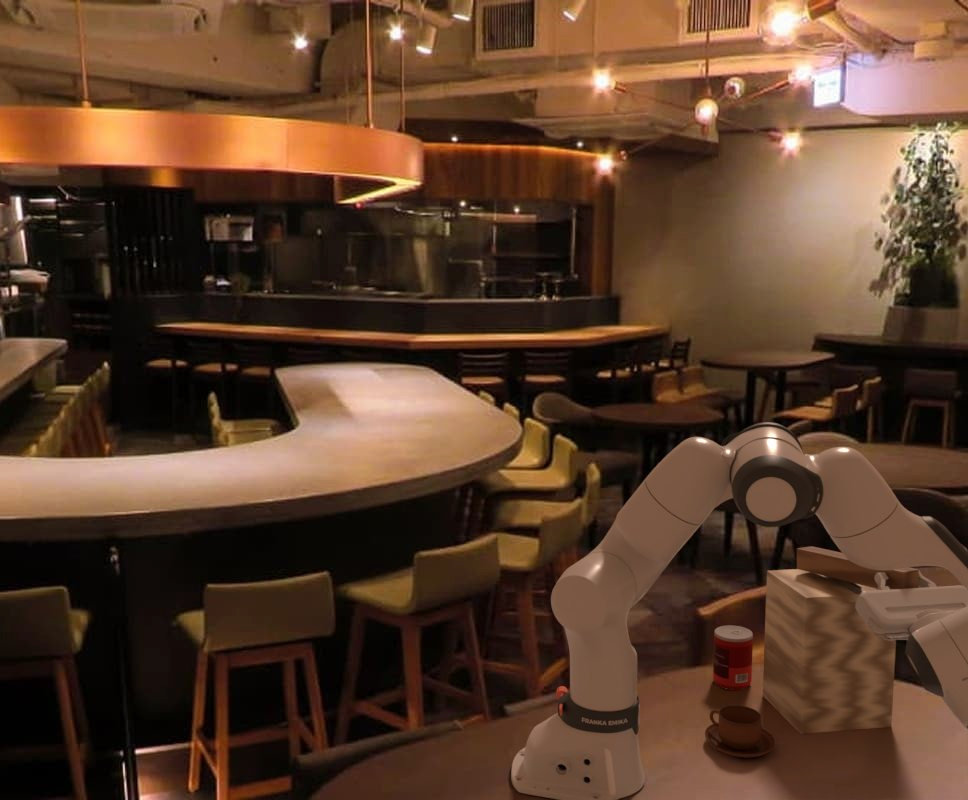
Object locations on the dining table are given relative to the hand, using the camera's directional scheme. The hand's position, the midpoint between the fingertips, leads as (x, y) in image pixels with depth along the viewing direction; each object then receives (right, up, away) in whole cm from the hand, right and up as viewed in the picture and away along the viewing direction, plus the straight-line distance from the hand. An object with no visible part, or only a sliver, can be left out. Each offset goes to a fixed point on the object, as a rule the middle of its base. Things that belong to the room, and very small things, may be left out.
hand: (896, 573), depth 162 cm
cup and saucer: (-27, -32, +3) cm, 42 cm away
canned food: (-21, -28, +29) cm, 46 cm away
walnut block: (-4, -3, +8) cm, 9 cm away
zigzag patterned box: (-7, -30, +16) cm, 34 cm away
